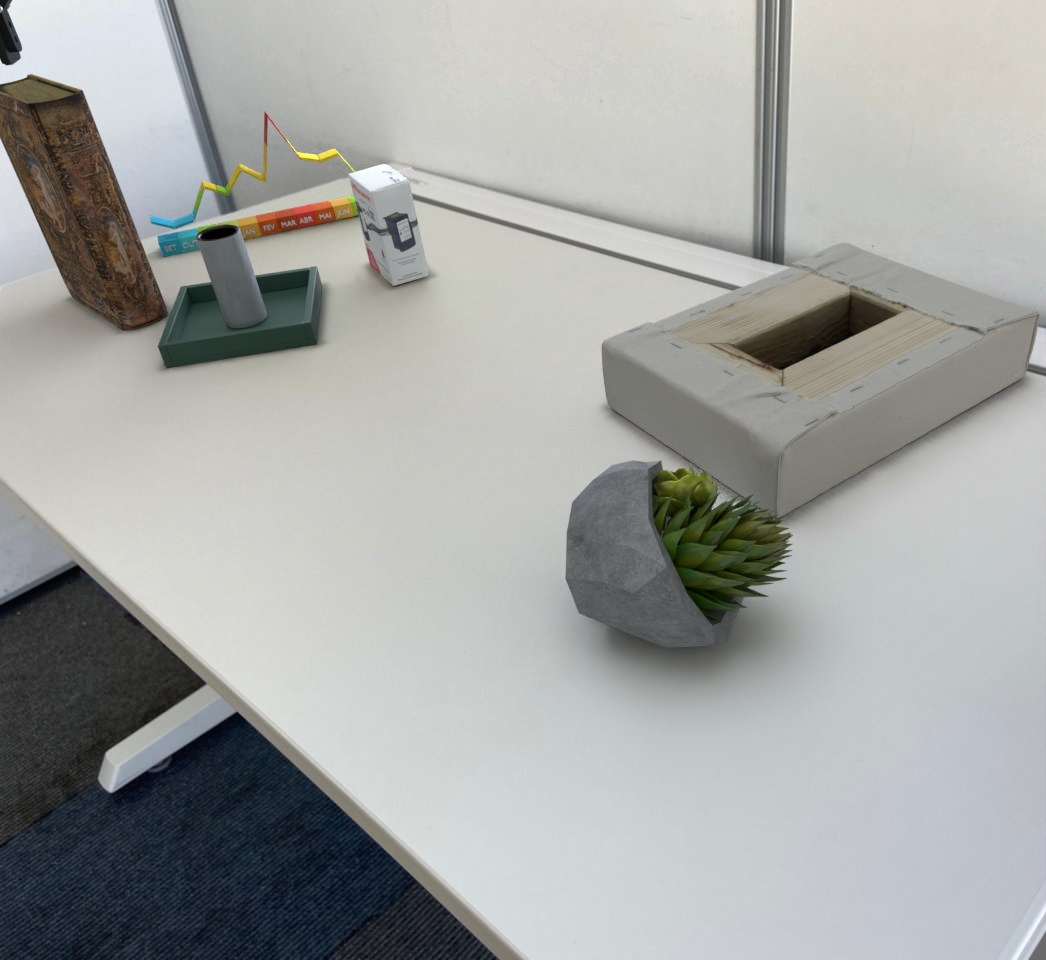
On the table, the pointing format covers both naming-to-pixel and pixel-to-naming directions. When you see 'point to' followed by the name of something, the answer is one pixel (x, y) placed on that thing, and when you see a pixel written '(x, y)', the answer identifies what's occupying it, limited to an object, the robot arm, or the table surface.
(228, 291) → the gray hollow cylinder
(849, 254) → the box
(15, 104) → the book
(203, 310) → the tray
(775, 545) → the potted plant
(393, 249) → the ink box
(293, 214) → the chart
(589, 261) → the table surface
